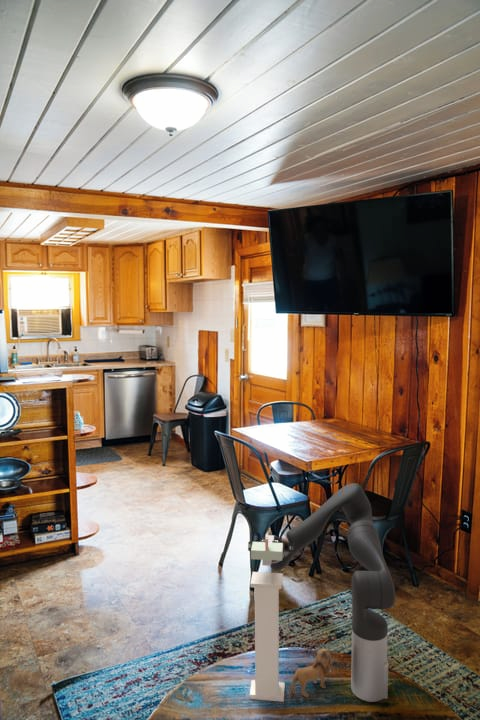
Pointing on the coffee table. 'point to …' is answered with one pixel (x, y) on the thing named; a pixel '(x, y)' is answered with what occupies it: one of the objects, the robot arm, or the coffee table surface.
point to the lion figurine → (312, 672)
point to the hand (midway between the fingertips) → (268, 544)
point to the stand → (267, 637)
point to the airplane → (267, 551)
